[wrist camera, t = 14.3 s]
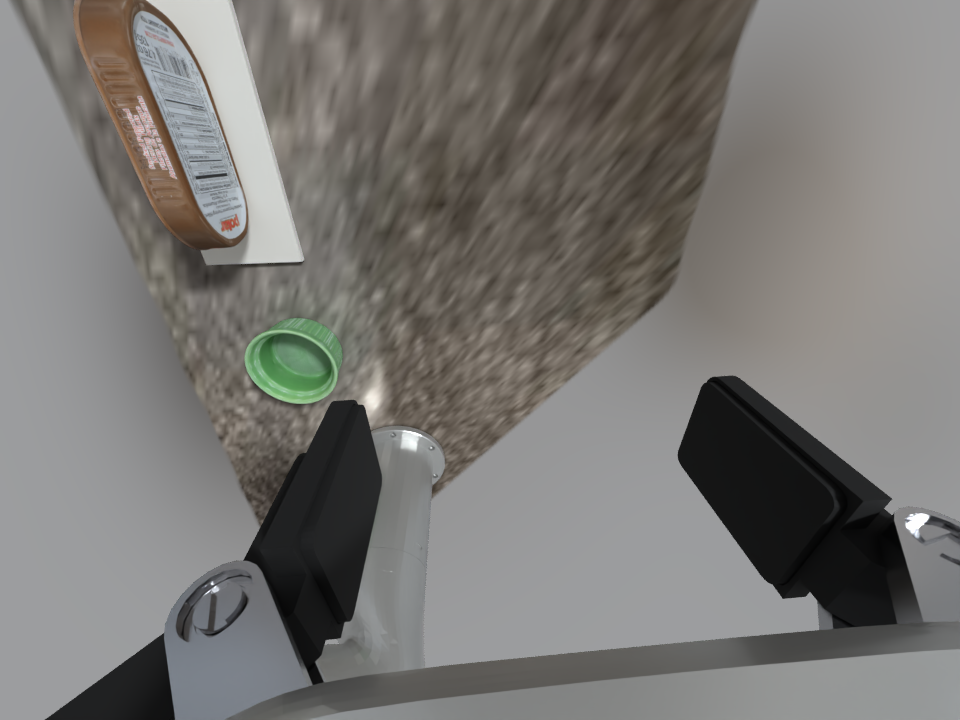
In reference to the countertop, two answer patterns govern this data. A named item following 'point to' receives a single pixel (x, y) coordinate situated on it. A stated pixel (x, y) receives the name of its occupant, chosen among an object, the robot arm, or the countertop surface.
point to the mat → (239, 130)
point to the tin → (164, 119)
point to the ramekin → (295, 361)
